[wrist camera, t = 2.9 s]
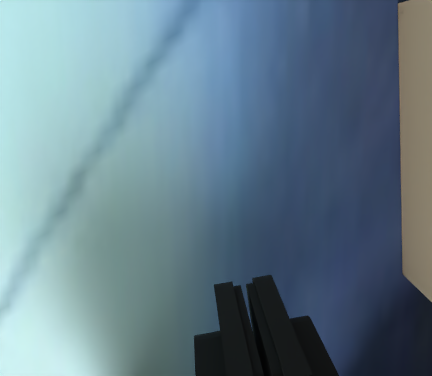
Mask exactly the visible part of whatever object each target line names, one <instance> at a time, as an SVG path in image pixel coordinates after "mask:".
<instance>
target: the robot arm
mask: <svg viewBox="0 0 432 376" xmlns="http://www.w3.org/2000/svg"><path fill="white" fill-rule="evenodd" d="M252 280H253V283H250V284H246V288H247V295H248V302H249V309H250V316H251V323H252V328H251V324H250V320H249V316H248V312H247V308H246V305H245V301H244V297H243V293H242V289H241V285H239V286H233V282H227V283H221V284H215V285H214V289H215V296H216V303H217V310H218V317H219V324H220V331H217V332H212V333H206V334H200V335H195V336H194V349H195V372H196V376H339V375H338V373H337V371H336V369H335V367H334V365H333V363H332V361H331V359H330V357H329V355H328V353H327V351H326V349H325V347H324V345H323V343H322V341H321V339H320V337H319V335H318V333H317V331H316V328H315V326H314V324H313V322H312V320H311V319H310V317H309V316H302V317H296V318H291V319H289V316H288V314H287V312H286V309H285V307H284V304H283V302H282V299H281V297H280V295H279V292H278V290H277V287H276V285H275V283H274V280H273V278H272V276H271V275H267V276H261V277H255V278H253V279H252ZM252 330H253V332H252Z"/></svg>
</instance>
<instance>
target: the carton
mask: <svg viewBox="0 0 432 376" xmlns="http://www.w3.org/2000/svg"><path fill="white" fill-rule="evenodd" d="M398 32H399V91H400V149H401V208H402V266H403V275H404V276H405V277H406V278H407V279H408V280H409V281H410V282H411V283H412V284H413V285H414V286H415V287H416V288H417V289H418V290H419V291H421V292H422V293H423V294H424V295H425V296H426V297H427V298H428V299H429V300H430V301H431V302H432V0H409V1H405V2H402V3H398Z"/></svg>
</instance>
